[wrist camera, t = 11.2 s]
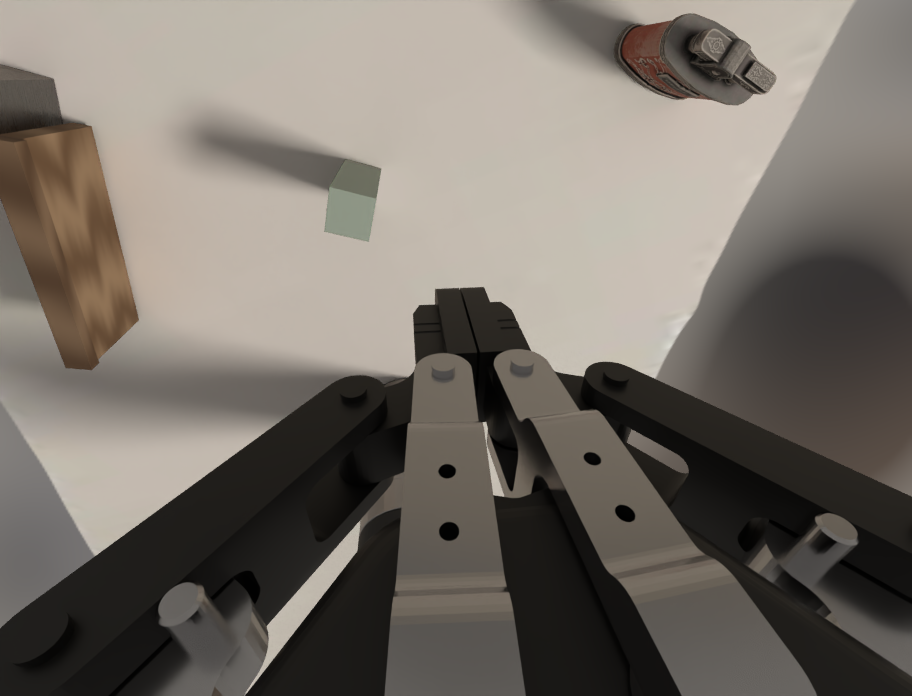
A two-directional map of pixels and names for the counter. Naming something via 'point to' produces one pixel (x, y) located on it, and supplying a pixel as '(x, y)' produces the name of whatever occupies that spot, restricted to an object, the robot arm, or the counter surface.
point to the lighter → (692, 60)
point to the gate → (68, 237)
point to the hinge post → (27, 101)
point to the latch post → (352, 200)
